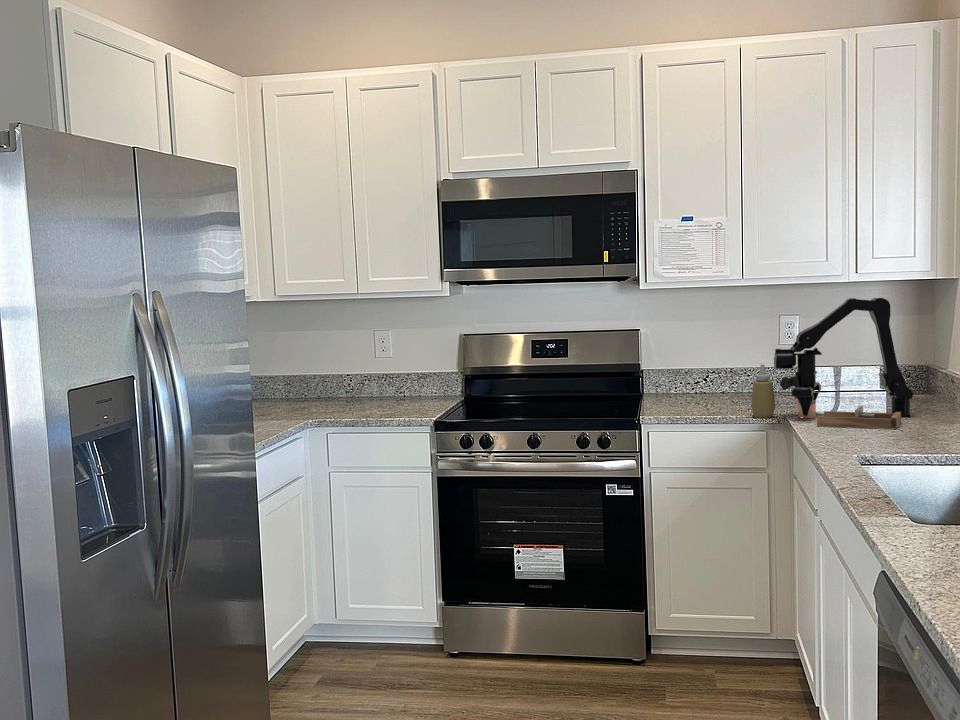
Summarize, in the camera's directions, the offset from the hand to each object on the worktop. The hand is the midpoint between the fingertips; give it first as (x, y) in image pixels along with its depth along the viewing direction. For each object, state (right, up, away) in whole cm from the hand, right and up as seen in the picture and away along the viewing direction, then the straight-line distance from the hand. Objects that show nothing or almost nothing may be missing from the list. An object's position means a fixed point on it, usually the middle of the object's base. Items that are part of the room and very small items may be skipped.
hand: (807, 414), depth 316 cm
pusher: (+11, -1, -20) cm, 23 cm away
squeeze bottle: (-13, -1, +5) cm, 14 cm away
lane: (+10, -2, -19) cm, 22 cm away
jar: (0, -1, 0) cm, 1 cm away
